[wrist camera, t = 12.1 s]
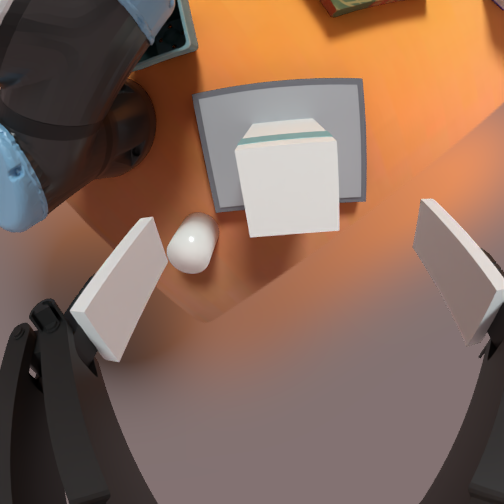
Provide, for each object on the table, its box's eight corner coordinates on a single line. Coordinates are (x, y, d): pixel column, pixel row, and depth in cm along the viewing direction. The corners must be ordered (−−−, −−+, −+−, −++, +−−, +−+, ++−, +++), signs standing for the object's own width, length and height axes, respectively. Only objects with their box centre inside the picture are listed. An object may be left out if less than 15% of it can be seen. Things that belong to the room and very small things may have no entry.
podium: (220, 204, 40) (215, 214, 37) (198, 93, 31) (190, 94, 28) (360, 193, 36) (366, 203, 34) (355, 78, 28) (363, 78, 25)
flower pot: (212, 56, 28) (191, 47, 20) (149, 75, 29) (115, 76, 22) (199, 0, 23) (176, -20, 16) (138, 23, 25) (102, 12, 17)
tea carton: (260, 179, 34) (249, 238, 22) (251, 123, 30) (233, 149, 18) (318, 174, 32) (339, 230, 21) (313, 117, 29) (337, 140, 17)
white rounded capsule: (187, 247, 44) (174, 274, 39) (177, 214, 41) (161, 238, 35) (222, 244, 43) (213, 272, 38) (215, 210, 40) (203, 234, 34)
